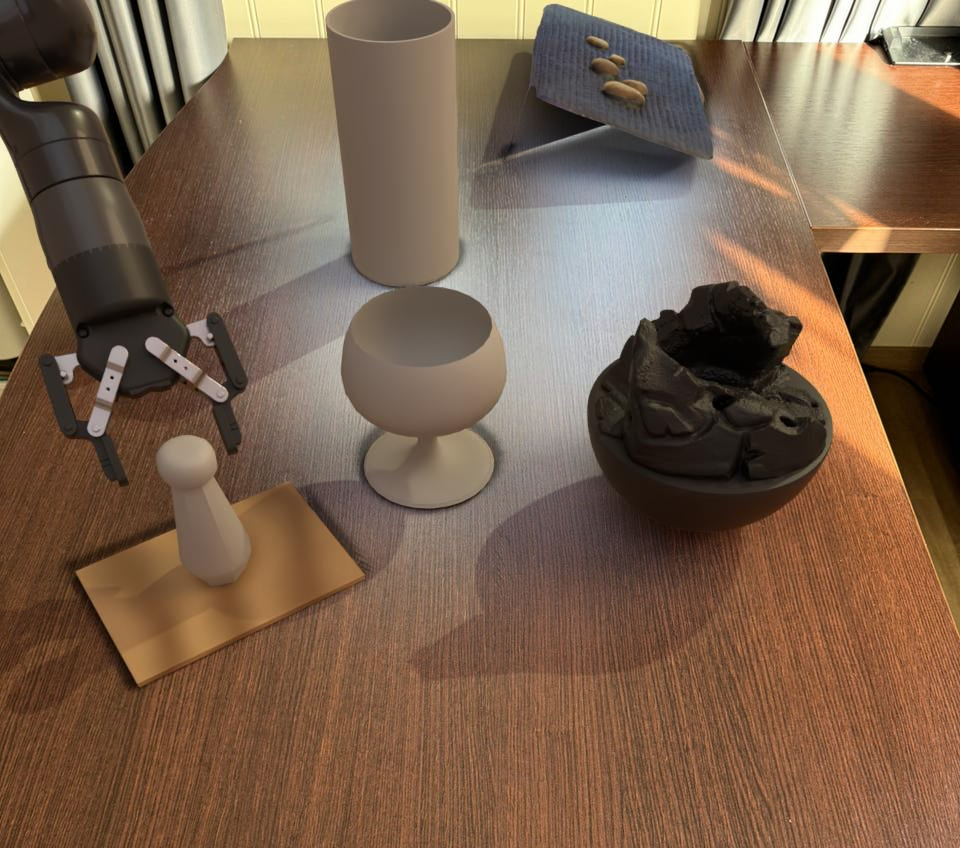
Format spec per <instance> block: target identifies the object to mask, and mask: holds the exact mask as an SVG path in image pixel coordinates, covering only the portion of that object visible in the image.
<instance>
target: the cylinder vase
mask: <svg viewBox="0 0 960 848" xmlns="http://www.w3.org/2000/svg"><path fill="white" fill-rule="evenodd" d="M324 21H325V31H326V39H327V40H326V41H327V48H328V49H327V50H328V57H329V66H330V74H331V75H330V76H331V84H332V91H333V100H334V109H335V118H336V126H337V134H338V142H339V143H338V144H339V153H340V162H341V170H342V179H343V187H344V196H345V204H346V213H347V214H346V215H347V222H348V230H349V238H350V239H349V241H350V247H351V256H352V262H353V264H354V266H355V268H356V270H357V271H358V272H359V273H360V274H361V275H362V276H363V277H366V278H367V279H368V280H370V281H372V282H375V283H377V284H381V285H384V286H387V287H388V286H389V287H396V288H397V287H399V288H405V287H412V286H425V285H427V284H431V283H435V282H436V281H439V280H441V279H443V278H444V277H446V276H447V275H449V274H450V273H451V272H452V271H453V270H454V268H455V267H456V266H457V264H458V261H459V260H460V259H459V258H460V215H459V214H460V213H459V212H460V211H459V210H460V209H459V160H458V159H459V158H458V157H459V155H458V152H459V151H458V107H457V106H458V105H457V103H458V102H457V99H458V97H457V55H456V54H457V48H456V47H457V46H456V45H457V44H456V41H457V40H456V14H455V12H454V11H453V9H452V8H451V7H450V6H448V5H447V4H445V3H443V2H441V1H438V0H348V1H344V2H342V3H340V4H338V5H336V6H334V7H333V8H331V9H330V10H329V11H328V12H327V13H326V16H325V18H324Z"/></svg>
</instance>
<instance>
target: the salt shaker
mask: <svg viewBox="0 0 960 848" xmlns="http://www.w3.org/2000/svg"><path fill="white" fill-rule="evenodd" d="M155 460H156V469H157V472H158V474H159V476H160V478H161V479H162V480H163V481H164V482H165V484H166V485H168V486H170V489H171V498H172V506H173V514H174V521H175V522H174V523H175V529H176V531H177V539H178V547H179V556H180V561H181V563H182V564H183V566H184V567H185V568H186V569H187V570H188V571H189V572H190V573H191V574H193V575H194V576H196V577H198V578H199V579H201V580H202V581H204V582H206V583H207V584H209V585H210V586H212V587H213V586H219V585H224V584H229V583H234V582H235V581H236V580H237V579H238V577H239V576H240V575H241V574H242V572H243V571H244V570H245V569H246V567H247V564H248V561H249V557H250V554H251V544H250V539H249V535H248V534H247V532H246V530H245V529H244V527H243V525H242V524H241V522H240V520H239V519H238V517H237V515H236V513H235V512H234V510H233V508H232V507H231V505H232V504H231V503H230V502H229V499H228V498H227V497H226V495H225V493H224V491H223V490H222V489H221V488H222V487H220V484H219V483H218V482H217V480H216V478H215V477H214V476H215V474H216V473H217V471H218V461H217V455H216V452H215V450H214V448H213V446H212V445H211V444H210V442H209V441H208V440H207V439H205V438H202V437H200V436H196V435H192V434H184V435H182V434H181V435H178V436H174V437H171V438H170V439H168V440H166V441H165V442H164V443H163V444H161V446H160V447H159V449H158V451H157V452H156V454H155Z"/></svg>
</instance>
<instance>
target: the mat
mask: <svg viewBox="0 0 960 848" xmlns="http://www.w3.org/2000/svg"><path fill="white" fill-rule="evenodd" d="M686 53H687V51H686V50H685V49H684V48H682V47H679V46H677V45H675V44H671V43H669V42H667V41H664V40H662V39H660V38H658V37H655V36H653V35H650V34H647V33H644V32H640V31H637V30H635V29H633V28H631V27H629V26H625V25H623V24H619V23H617V22H614V21H611V20H607V19H605V18H602V17H598V16H595V15H592V14H589V13H586V12H583V11H580V10H577V9H574V8H571V7H569V6H565V5H563V4H560V3H550V4H547V5H545V6H544V7H543V9H542V16H541V18H540V22H539V25H538V27H537V28H536V34H535V37H534V41H533V48H532V56H531V66H530V67H531V68H530V73H529V74H530V75H529V83H528V88H527V90H526V91H527V92H526V94H525V98H524V100H523V104H522V106H521V107H522V108H521V111H520V113H519V117H518V119H517V124H516V125H518V124H519V122H520V119H521V115H522V114H523V110H524V106H525V104H526V101H527V96H528V93H529V91H530V89H531V87H533V88H534V89H535V90H536V91H535V92H536V98H537V99H539V100H541V101H543V102H544V103H545V102H546V103H547V104H550V105H552V106H555V107H557V108H561V109H562V110H565V111H568V112H570V113H572V114H575V115H578V116H581V117H583V118H586V119H590V120H592V121H595V122H598V123H601V124H604V125H607V126H610V127H613V128H615V129H617V130H620V131H623V132H624V133H628V134H630V135H632V136H635V137H638V138H639V139H642V140H645V141H648V142H651V143H654V144H658V145H660V146H663V147H666V148H669V149H671V150H675V151H678V152H681V153H684V154H687V155H689V156H692V157H694V158H698V159H700V160H706V161H710V160H713V159H714V145H713V139H712V135H711V133H710V128H709V123H708V121H707V118H706V114H705V109H704V104H705V96H704V93H703V91H702V89H701V87H700V84H699V83H698V80H697V77H696V74H695V70H694V66H693V62H692V59H691V57H690V55H689V54H688V53H687V55H688V56H686ZM515 133H516V131H514V133H513V134H512V135H513V136H512V138H511V141H510V143H509V145H508V149H507V151H506V152H507V153H509V150H510V148H511V146H512V143H513V140H514V136H515ZM506 158H507V155H505V156H504V158H503V161H505V160H506Z"/></svg>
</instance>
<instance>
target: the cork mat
mask: <svg viewBox="0 0 960 848" xmlns="http://www.w3.org/2000/svg"><path fill="white" fill-rule="evenodd" d="M230 505H231V507H232V508H233V510H234V512H235V513H236V515H237V517H238V519H239V520H240V522H241V524H242V525H243V527H244V529H245V530H246V532H247V534H248V535H249V539H250V544H251V554H250V557H249V561H248V564H247V567H246V569H245V570H244V571H243V572H242V574H241V575H240V576H239V577H238V579H237V580H236V581H235V582H234V583H229V584H224V585H219V586H213V587H212V586H210V585H209V584H207V583H206V582H204V581H202V580H201V579H199V578H198V577H196V576H194V575H193V574H191V573H190V572H189V571H188V570H187V569H186V568H185V567H184V566H183V564H182V563H181V561H180V556H179V547H178V539H177V531H176V528H174V529H171V530H169V531H167V532H164V533H162V534H159V535H158V536H155V537H153V538H150V539H148V540H146V541H143V542H141V543H138V544H136V545H134V546H131V547H129V548H127V549H124V550H122V551H120V552H117V553H115V554H113V555H111V556H108V557H106V558H103V559H101V560H98V561H96V562H94V563H91V564H89V565H86V566H84V567H82V568H80V569H78V570H75V574H76V576H77V579H78V580H79V582H80V584H81V585H82V587H83V589H84V591H85V593H86V594H87V596H88V598H89V600H90V602H91V604H92V606H93V607H94V609H95V611H96V612H97V615H98V616H99V618H100V620H101V622H102V623H103V626H104V627H105V629H106V631H107V633H108V635H109V636H110V638H111V640H112V642H113V643H114V646H115V647H116V649H117V651H118V653H119V655H120V657H121V658H122V660H123V662H124V663H125V665H126V667H127V669H128V671H129V672H130V675H131V676H132V678H133V680H134V682H135V683H136V685H137V687H138V688H142V687H144V686H146V685H148V684H151V683H152V682H154V681H156V680H158V679H160V678H163V677H165V676H168V675H169V674H171V673H173V672H175V671H177V670H179V669H181V668H183V667H185V666H188V665H190V664H192V663H194V662H196V661H198V660H201V659H202V658H204V657H206V656H209V655H210V654H213V653H215V652H217V651H219V650H221V649H224V648H225V647H227V646H229V645H231V644H233V643H236V642H237V641H240V640H242V639H244V638H246V637H248V636H250V635H252V634H255V633H256V632H259V631H260V630H262V629H265V628H267V627H269V626H271V625H273V624H275V623H277V622H279V621H282V620H283V619H285V618H288V617H289V616H292V615H294V614H296V613H298V612H300V611H303V610H305V609H306V608H308V607H311V606H312V605H315V604H317V603H319V602H321V601H323V600H325V599H327V598H329V597H331V596H333V595H335V594H337V593H340V592H341V591H344V590H346V589H348V588H350V587H352V586H354V585H356V584H359V583H360V582H362V581H364V580H366V575H365V573H364V572H363V570H362V569H361V568H360V567H359V565H358V564H357V563H356V562H355V560H354V559H353V557H352V556H351V555H350V554H349V553H348V552H347V550H345V548H344V547H343V546H342V544H341V543H340V542H339V541H338V540H337V538H336V537H335V536H334V535H333V533H332V532H331V531H330V529H329V528H328V527H327V526H326V525H325V523H324V522H323V521H322V520H321V518H320V517H319V516H318V515H317V514H316V511H314V510H313V509H312V508H311V506H310V505H309V504H308V502H307V501H306V500H305V498H304V497H302V495H301V493H300V492H299V491H298V490H297V489H296V487H295V486H294V485H293V484H292V482H291V481H290V480H288V481H284V482H282V483H280V484H278V485H276V486H273V487H270V488H269V489H266V490H264V491H261V492H259V493H256V494H253V495H252V496H249V497H247V498H245V499H242V500H240V501H238V502H235V503H232V504H230Z"/></svg>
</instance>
